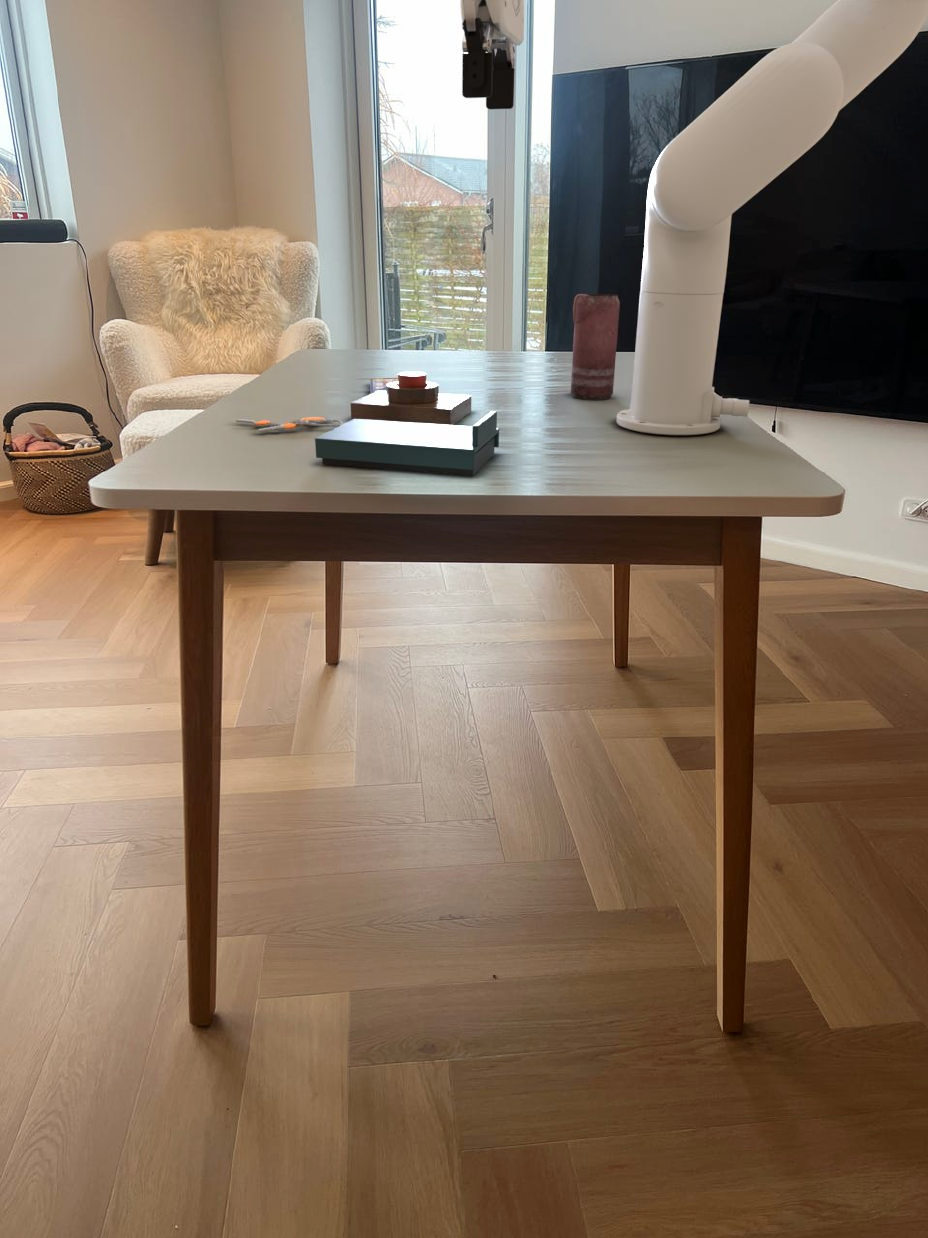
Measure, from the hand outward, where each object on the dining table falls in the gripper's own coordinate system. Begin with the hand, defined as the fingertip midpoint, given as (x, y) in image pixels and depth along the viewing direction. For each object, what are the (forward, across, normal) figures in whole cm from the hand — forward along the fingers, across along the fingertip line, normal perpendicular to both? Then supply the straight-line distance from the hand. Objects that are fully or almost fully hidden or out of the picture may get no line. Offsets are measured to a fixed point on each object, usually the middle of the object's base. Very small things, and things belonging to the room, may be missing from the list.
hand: (488, 103), depth 97 cm
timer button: (+31, -2, +9) cm, 33 cm away
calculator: (+35, -24, +2) cm, 42 cm away
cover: (+35, -24, +2) cm, 42 cm away
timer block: (+35, -2, +9) cm, 36 cm away
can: (+35, +20, -11) cm, 42 cm away
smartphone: (+35, +14, +17) cm, 41 cm away
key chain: (+35, -13, +21) cm, 43 cm away
